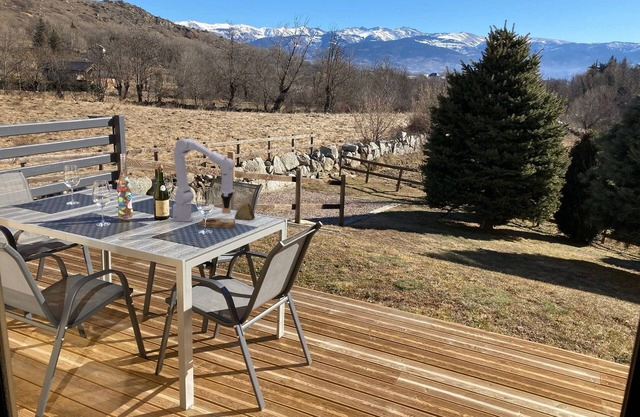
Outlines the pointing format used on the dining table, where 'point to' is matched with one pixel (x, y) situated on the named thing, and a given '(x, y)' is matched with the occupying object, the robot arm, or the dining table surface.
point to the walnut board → (216, 223)
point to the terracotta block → (226, 210)
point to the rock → (245, 212)
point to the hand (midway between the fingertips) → (226, 207)
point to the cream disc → (226, 220)
